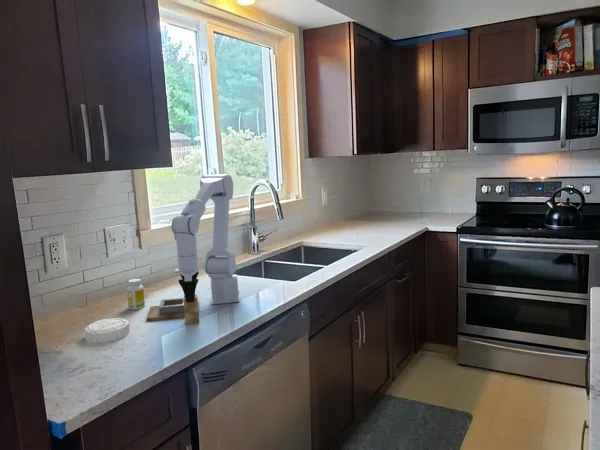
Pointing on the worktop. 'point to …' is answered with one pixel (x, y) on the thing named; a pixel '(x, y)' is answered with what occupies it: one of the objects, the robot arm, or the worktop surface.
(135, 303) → the supplement bottle
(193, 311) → the peg
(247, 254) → the worktop surface
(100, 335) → the mooncake
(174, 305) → the socket board
